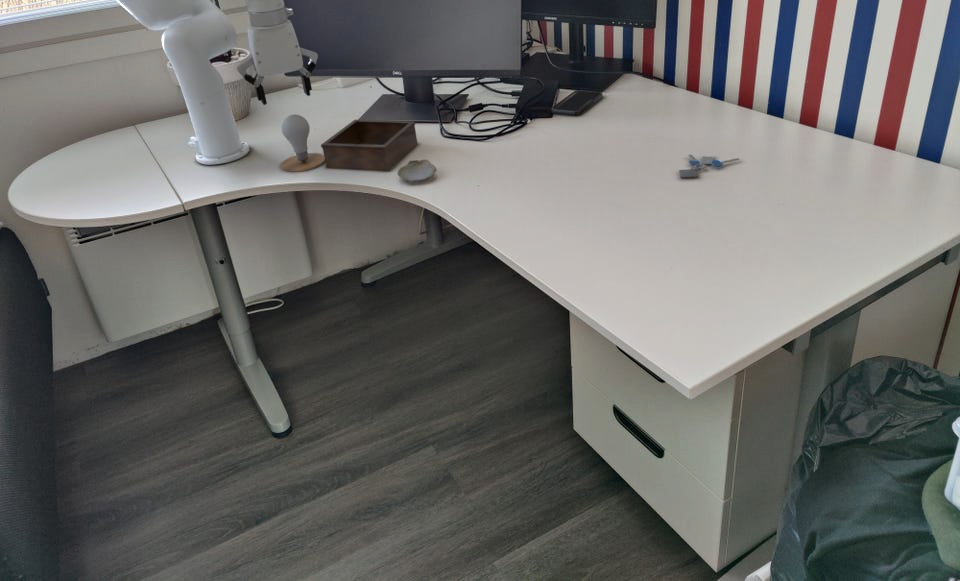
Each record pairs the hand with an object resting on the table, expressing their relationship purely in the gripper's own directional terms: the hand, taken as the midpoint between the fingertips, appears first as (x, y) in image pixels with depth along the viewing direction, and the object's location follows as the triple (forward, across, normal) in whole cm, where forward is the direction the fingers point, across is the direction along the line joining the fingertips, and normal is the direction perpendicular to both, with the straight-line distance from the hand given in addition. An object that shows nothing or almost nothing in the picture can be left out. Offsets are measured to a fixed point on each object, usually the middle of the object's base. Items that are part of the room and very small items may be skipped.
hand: (285, 98), depth 162 cm
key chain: (+13, -69, +56) cm, 89 cm away
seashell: (+14, -20, +26) cm, 35 cm away
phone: (+14, -69, +8) cm, 71 cm away
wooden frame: (+15, -16, +7) cm, 23 cm away
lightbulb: (+15, -1, +1) cm, 15 cm away
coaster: (+15, -1, +1) cm, 15 cm away
